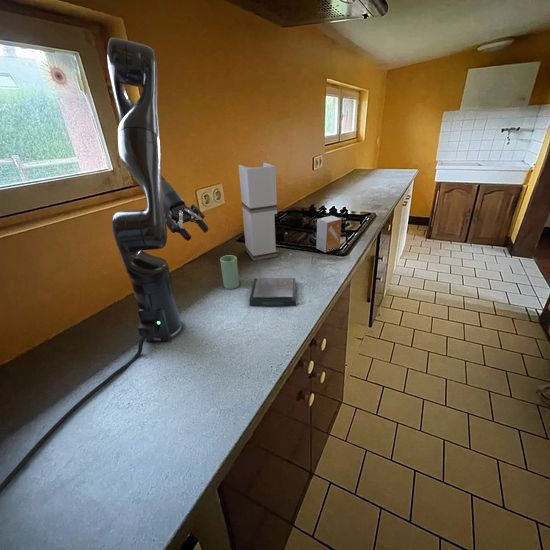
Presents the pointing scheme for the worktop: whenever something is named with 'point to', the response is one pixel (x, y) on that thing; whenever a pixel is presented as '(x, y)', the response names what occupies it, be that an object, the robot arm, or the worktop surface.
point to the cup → (229, 271)
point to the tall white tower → (259, 210)
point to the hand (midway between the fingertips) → (198, 234)
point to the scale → (273, 292)
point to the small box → (328, 233)
